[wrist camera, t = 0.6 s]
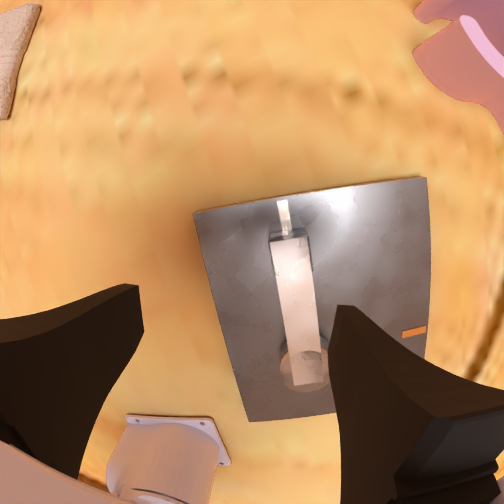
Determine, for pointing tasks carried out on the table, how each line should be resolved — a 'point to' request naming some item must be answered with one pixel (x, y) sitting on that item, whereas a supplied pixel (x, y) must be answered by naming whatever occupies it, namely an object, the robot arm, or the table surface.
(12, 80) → the washcloth
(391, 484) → the robot arm
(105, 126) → the table surface
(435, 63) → the clip
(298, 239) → the lever
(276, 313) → the plate
